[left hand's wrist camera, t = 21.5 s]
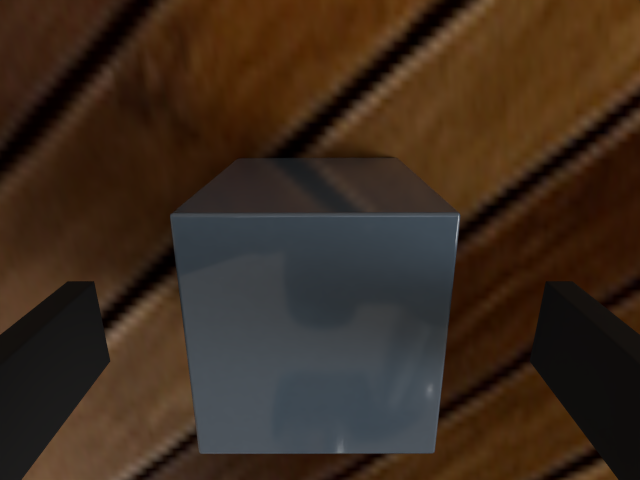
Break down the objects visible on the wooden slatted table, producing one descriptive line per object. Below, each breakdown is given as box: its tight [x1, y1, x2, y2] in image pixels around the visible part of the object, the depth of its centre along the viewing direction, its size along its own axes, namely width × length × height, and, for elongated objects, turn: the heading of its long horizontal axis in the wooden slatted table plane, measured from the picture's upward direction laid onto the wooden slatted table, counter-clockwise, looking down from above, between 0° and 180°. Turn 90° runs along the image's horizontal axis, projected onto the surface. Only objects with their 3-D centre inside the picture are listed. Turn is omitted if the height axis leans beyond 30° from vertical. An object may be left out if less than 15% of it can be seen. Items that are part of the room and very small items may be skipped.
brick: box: [170, 158, 460, 454], centre depth 16 cm, size 7×8×9 cm
